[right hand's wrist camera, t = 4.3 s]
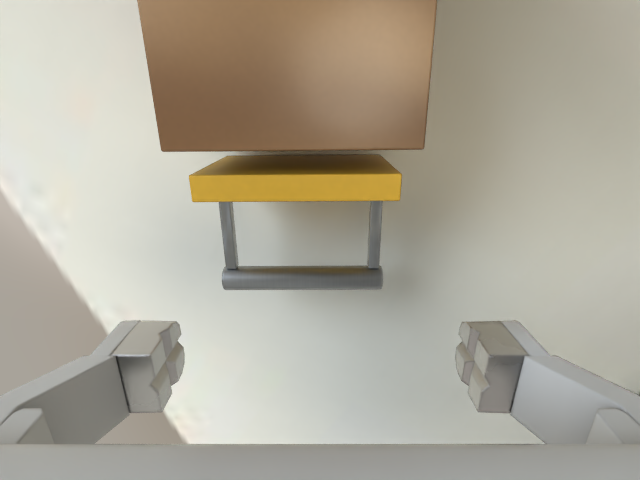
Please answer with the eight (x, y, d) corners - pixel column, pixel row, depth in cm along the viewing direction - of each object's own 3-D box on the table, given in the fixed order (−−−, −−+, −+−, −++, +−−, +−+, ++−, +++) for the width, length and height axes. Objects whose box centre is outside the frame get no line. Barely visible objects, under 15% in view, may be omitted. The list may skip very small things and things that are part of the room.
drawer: (374, 264, 24) (392, 318, 18) (237, 264, 24) (207, 318, 18) (395, -176, 16) (438, -344, 10) (194, -172, 16) (117, -335, 10)
